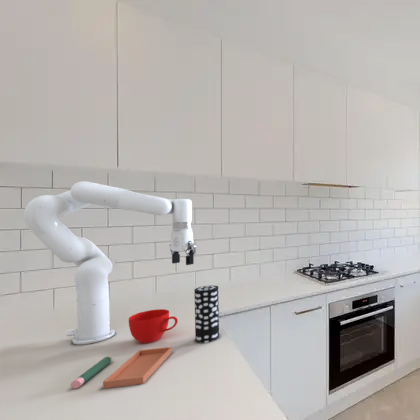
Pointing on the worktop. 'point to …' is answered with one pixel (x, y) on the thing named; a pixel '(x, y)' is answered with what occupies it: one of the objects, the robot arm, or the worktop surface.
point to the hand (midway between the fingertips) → (182, 263)
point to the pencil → (90, 372)
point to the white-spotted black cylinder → (206, 314)
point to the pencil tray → (138, 368)
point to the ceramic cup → (150, 325)
